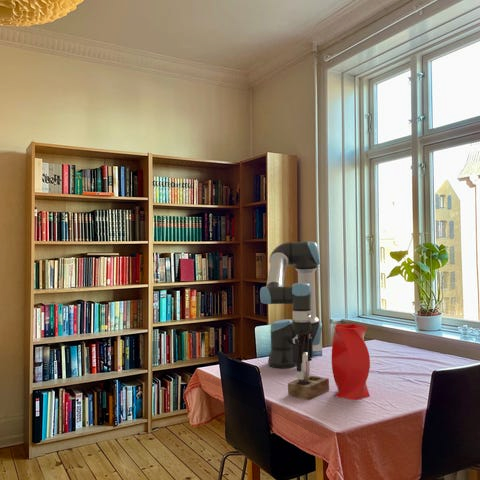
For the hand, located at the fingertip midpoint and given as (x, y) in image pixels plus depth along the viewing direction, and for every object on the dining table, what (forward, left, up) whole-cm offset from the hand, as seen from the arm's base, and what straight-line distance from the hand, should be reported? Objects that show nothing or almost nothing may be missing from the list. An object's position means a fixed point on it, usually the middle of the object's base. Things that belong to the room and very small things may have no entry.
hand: (303, 377), depth 190 cm
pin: (0, 0, -4) cm, 4 cm away
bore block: (0, +4, -7) cm, 8 cm away
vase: (+15, +12, -7) cm, 21 cm away
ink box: (-37, +70, -7) cm, 80 cm away
